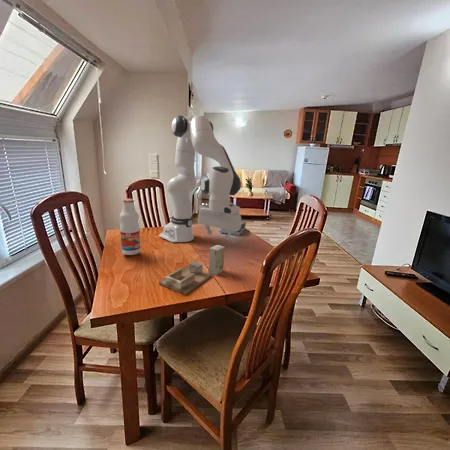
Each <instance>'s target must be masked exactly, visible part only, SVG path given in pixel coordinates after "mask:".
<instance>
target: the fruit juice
mask: <svg viewBox="0 0 450 450" xmlns="http://www.w3.org/2000/svg"><path fill="white" fill-rule="evenodd" d="M122 200H123V201H122V202H123V206H122V210H121V212H120V214H119V220H120V226H119V227H120V228H119V232H120V233H119V234H120V244H121V245H120V246H121V253H122V254H123V255H127V256H132V255H133V256H134V255H137V254H139V253H140V252H141V250H142V249H141V248H142V247H141V229H140V228H141V227H140V223H139V220H140V219H139V218H140V214H139V213H138V212H137V210H136V208H135V205H134V202H135V201H134V199H133V198H124V199H122Z"/></svg>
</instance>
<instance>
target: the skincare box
mask: <svg viewBox="0 0 450 450" xmlns="http://www.w3.org/2000/svg"><path fill="white" fill-rule="evenodd" d="M208 256H209V257H208V273H209V274H212V276H218V275H219V274H221V273H222V272H223V271H224V262H225V246H222V245H220V244H216V245H214V246H211V247H210V248H209V255H208Z"/></svg>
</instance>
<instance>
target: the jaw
mask: <svg viewBox="0 0 450 450" xmlns="http://www.w3.org/2000/svg"><path fill="white" fill-rule="evenodd" d="M188 266H189V271H190V272H193V273H196V274H200V273H201V272H202V271H203V264H202V263H199V262H196V261H192V262H191V263H189V264H188Z"/></svg>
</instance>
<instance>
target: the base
mask: <svg viewBox="0 0 450 450" xmlns="http://www.w3.org/2000/svg"><path fill="white" fill-rule="evenodd" d="M212 277H213V274H210V273H209V272H208V271H207V272H206V271H203V270H202V272H201V273H200V274H196V273H193V272H190V271H189V265H185V266H184V267H181V268H178V269H176V270H175V271H173V272H171V273H169V274H167V275H165V276H164V278H162V279H160V280H159V281H158V285H160V286H163V287H165V288H167V289H170V290H172V291H174V292H177V293H179V294H181V295H184V296H187V295H188V294H190V293H191V292H193V290H194V291H195V289H197V288H198V287H199V286H201V285H202V284H203V283H205V282H206V281H208V280H209V279H210V278H212Z"/></svg>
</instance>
